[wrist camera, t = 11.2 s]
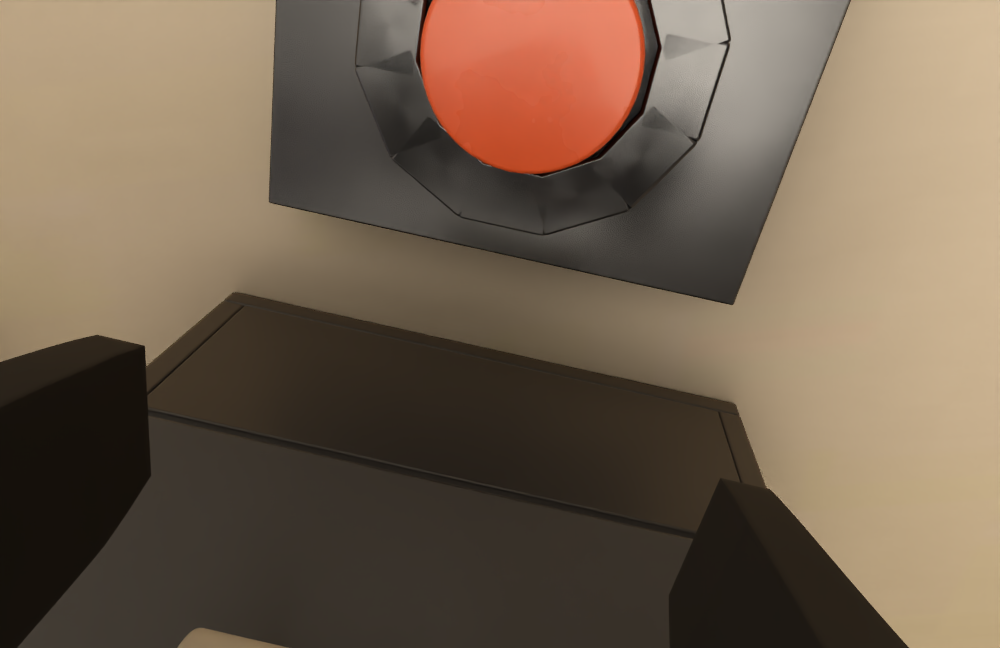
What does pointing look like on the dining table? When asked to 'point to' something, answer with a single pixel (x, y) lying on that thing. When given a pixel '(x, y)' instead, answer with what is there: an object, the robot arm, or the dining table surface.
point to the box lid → (353, 561)
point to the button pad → (579, 188)
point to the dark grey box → (453, 413)
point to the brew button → (532, 77)
